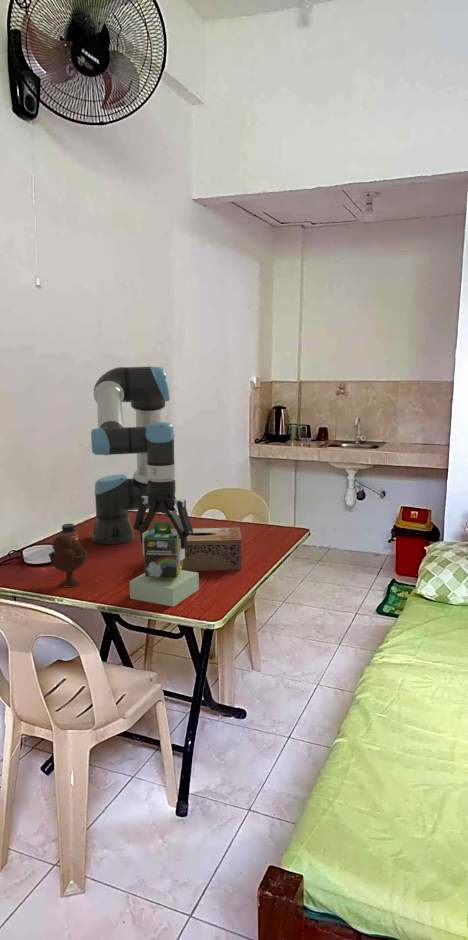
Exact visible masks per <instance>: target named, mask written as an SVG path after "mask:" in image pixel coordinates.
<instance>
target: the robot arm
mask: <svg viewBox="0 0 468 940" xmlns="http://www.w3.org/2000/svg"><path fill="white" fill-rule="evenodd" d="M169 388H170V387H169V383H168V377H167V373H166V370H165V368H164V367H161V366H152V365H150V366H131V367H130V366H128V367H125V366H124V367H123V366H121V367H119V366H118V367H115V368H113V369H109V370H108V371H107V372H105V373H104V374H102V375H101V376H100V377H99V378H98V380H97V381H96V383H95V385H94V388H93V398H94V401H95V403H96V404H97V406H96V407H97V428H93V429H91V430H90V440H91V442H90V443H91V452H92V454H94V455H96V456H99V455H100V456H110V455H128V454H129V455H130V454H133V455H134V454H136V469H137V470H136V471H134V472H133V475H132V477H131V478H128V476H127V474H114V475H108V476H107V475H106V476H104V477H100V478H98V479H97V480H96V481H95V484H94V495H95V497H94V498H95V519H96V520H95V523H94V526H93V527H94V528H93V531H92V541H93V542H94V543H95V542H96V544H99V545H119V544H120V545H121V544H125V543H127V542H131V541H132V540H134V539H135V532H134V531H135V530H137V531H139V536H140V537H139V538H140V539H139V540H140V543H141V544H142V555H143V557H144V537H145V536H146V535H147V533H148V532H149V531H150V530H149V528H150V526H151V523H152V521H153V520H154V518H155V517H156V515H157V514H159V513H161V514H165V515H166V516H167V517H169V519H170V522H171V525H173V527H174V529H176V531H177V533H178V535H179V537H177V557H178V561H181V560H183V559H184V558H185V548H187V536H189V535H191V534H193V529H192V528H193V526H192V522H191V520H190V517H189V516H190V515H189V514H188V510H187V502H186V501H187V500H186V499H177V497H176V480H175V477H176V468H175V467H176V465H175V464H176V463H175V433H174V432H175V431H174V425H173V424H172V423H171V422H166V421H162V419H161V418H162V416H161V415H162V410H163V409H164V408H165V407H166V403H167V402H169V401H170V400H171V399H170V389H169ZM122 403H130V407H131V408H132V409H133V410H134V411H135V426H133V427H131V426H129V427H127V426H126V427H125V423H124V422H125V421H124V413H123V412H124V411H123V405H122ZM129 511H137V512H136V517H135V521H134V523H133V527H132V523H131V520H130V517H129ZM146 512H147V514H146Z"/></svg>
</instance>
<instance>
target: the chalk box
mask: <svg viewBox="0 0 468 940" xmlns="http://www.w3.org/2000/svg"><path fill="white" fill-rule="evenodd" d="M171 525H172V523H170V522H168V521H167V522H164V521H160V522H159V521H158V522H156V521H155V522H154V523H153V528H151V529H150V530H148V531H149V532H148V533H147V535H146V536H145V537H144V556H143V558H144V573H145V577H165V578H177V576H178V575H179V573H180V571H181V569H182V568H183V560H181V561H178V557H177V537H179V535H178V533H177V531H176V529H175V528H172V526H171ZM160 527H165V528H160Z"/></svg>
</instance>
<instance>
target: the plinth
mask: <svg viewBox="0 0 468 940" xmlns="http://www.w3.org/2000/svg"><path fill="white" fill-rule="evenodd" d="M199 580H200V577H199V572H198V571H184V570H181V571H180V573H179V575H178V576H177V578H165V577H145V572H144V573H142V574H140V575H139V576H137V577H134V578H133V579H131V580H129V598H130V599H132V600H136V601H141V602H147V603H152V604H157V605H163V606H167V607H168V606H169V607H176V606H177V605H178V604H180V603H181V602H182V601H184V600H186V599H187V598H189V597H190V596H191V595H193V594H194V593H196V592H197V591H199V589H200V583H199V582H200V581H199Z"/></svg>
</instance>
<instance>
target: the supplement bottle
mask: <svg viewBox="0 0 468 940" xmlns="http://www.w3.org/2000/svg"><path fill="white" fill-rule="evenodd" d="M62 535H65V536H69V537H70V538H72V539H76V540H78V541H79V532H78V531H77V530H76V529H75V524H74V523H64V524H62V526H61V531H60V532H59V536H62Z"/></svg>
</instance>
